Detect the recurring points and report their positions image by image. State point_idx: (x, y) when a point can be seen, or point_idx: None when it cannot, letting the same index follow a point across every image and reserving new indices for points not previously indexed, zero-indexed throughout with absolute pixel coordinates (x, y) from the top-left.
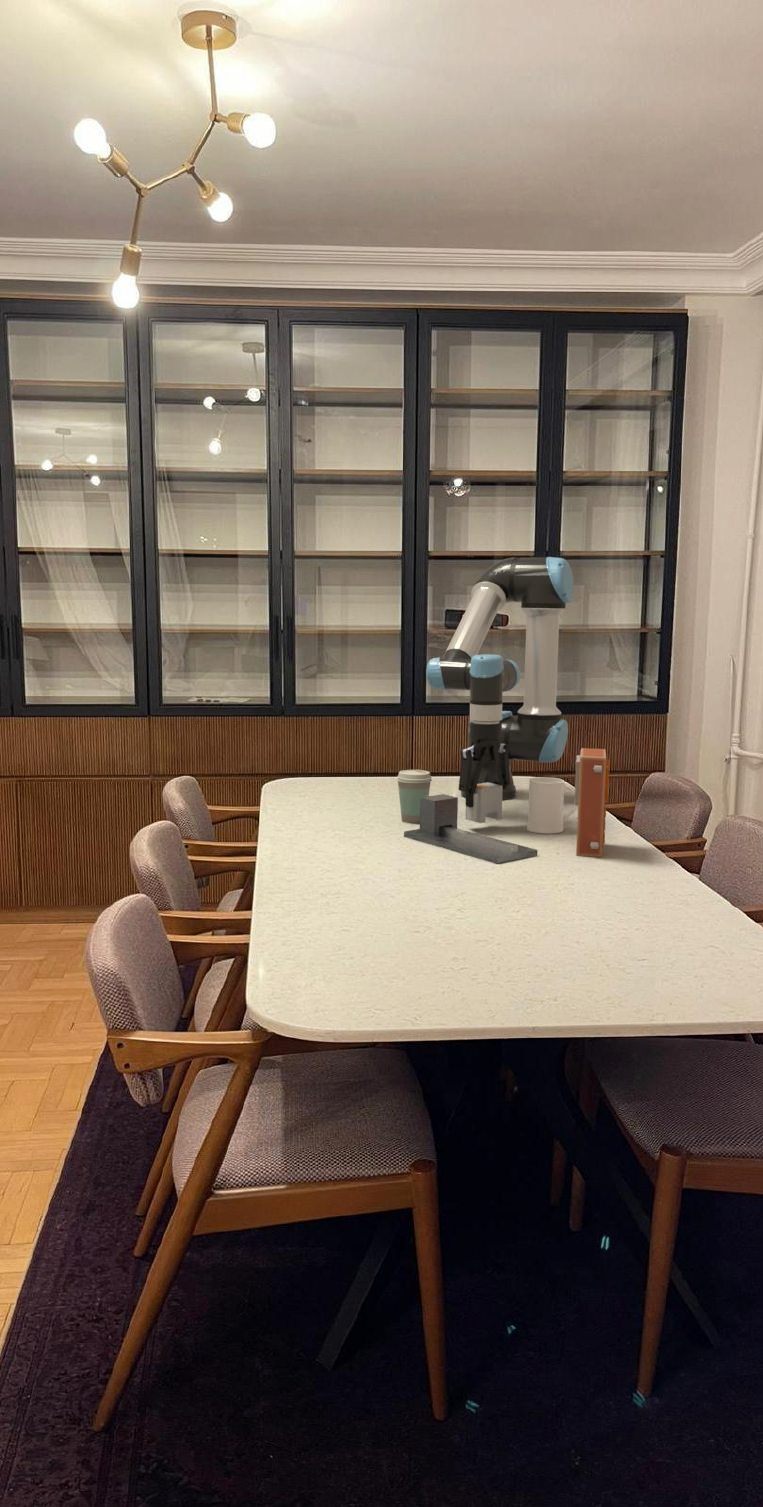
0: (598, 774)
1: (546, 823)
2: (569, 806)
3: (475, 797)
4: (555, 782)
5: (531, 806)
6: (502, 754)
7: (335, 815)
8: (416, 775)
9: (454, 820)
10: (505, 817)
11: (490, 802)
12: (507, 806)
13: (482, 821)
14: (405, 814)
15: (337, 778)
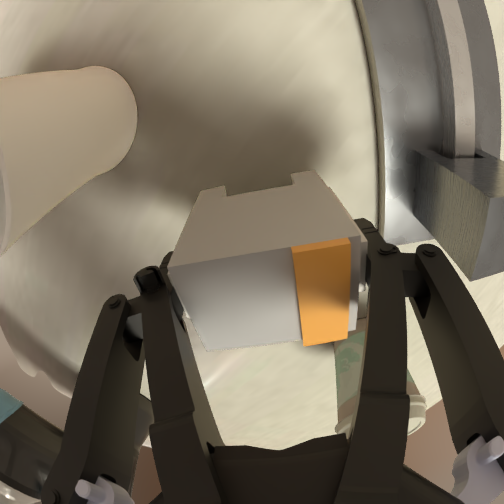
0: None
1: (91, 72)
2: (8, 303)
3: (359, 232)
4: None
5: (90, 129)
6: (100, 466)
7: (419, 380)
8: (416, 415)
9: (447, 162)
10: (132, 290)
11: (267, 207)
12: None
13: (305, 172)
14: None
15: None
